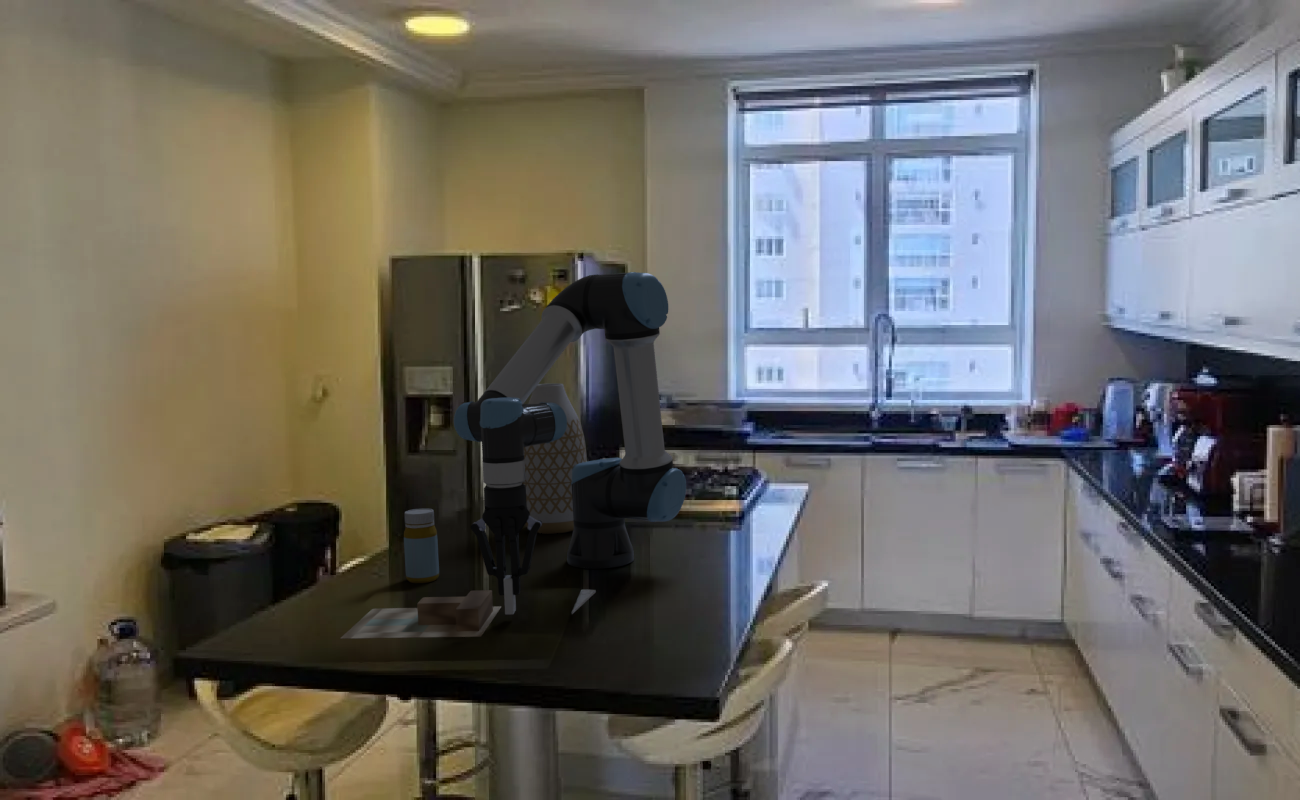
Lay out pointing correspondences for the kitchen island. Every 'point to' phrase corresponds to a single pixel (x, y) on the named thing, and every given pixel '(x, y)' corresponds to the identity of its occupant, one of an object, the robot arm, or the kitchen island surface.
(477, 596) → the t block
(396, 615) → the board
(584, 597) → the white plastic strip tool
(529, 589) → the kitchen island surface
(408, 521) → the bottle
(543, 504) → the vase
